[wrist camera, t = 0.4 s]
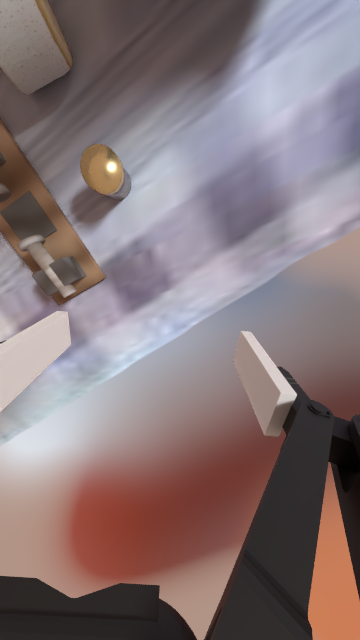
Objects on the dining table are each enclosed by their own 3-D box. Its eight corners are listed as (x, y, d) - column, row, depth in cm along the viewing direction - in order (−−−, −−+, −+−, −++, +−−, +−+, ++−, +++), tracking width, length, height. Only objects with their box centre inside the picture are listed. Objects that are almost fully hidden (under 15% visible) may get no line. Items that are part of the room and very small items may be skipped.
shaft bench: (-55, 154, 32) (-111, 133, 26) (-5, 110, 30) (-54, 77, 24) (62, 303, 41) (41, 314, 35) (106, 277, 39) (92, 284, 33)
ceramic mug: (85, 82, 28) (52, 27, 21) (37, 109, 30) (-9, 66, 22) (41, -25, 25) (-16, -134, 18) (-11, 11, 26) (-84, -78, 19)
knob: (103, 158, 32) (82, 137, 25) (136, 170, 32) (124, 152, 26) (98, 195, 34) (78, 185, 27) (129, 206, 34) (117, 198, 28)
